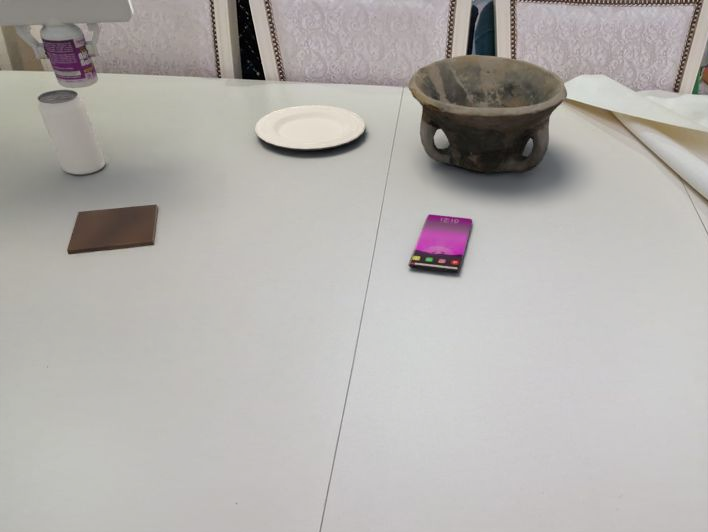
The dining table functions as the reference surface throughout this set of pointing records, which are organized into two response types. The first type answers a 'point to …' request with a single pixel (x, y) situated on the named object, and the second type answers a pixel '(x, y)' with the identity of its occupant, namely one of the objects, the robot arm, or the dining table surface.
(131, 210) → the coaster
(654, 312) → the dining table surface
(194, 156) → the dining table surface
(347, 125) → the plate
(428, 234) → the smartphone
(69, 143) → the can
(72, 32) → the pill bottle
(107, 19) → the robot arm
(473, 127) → the bowl
